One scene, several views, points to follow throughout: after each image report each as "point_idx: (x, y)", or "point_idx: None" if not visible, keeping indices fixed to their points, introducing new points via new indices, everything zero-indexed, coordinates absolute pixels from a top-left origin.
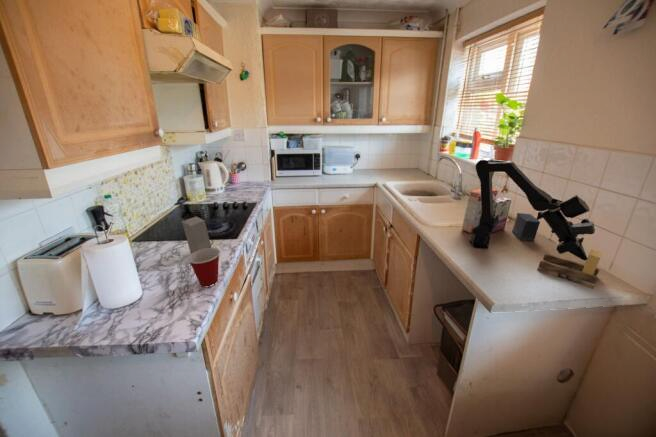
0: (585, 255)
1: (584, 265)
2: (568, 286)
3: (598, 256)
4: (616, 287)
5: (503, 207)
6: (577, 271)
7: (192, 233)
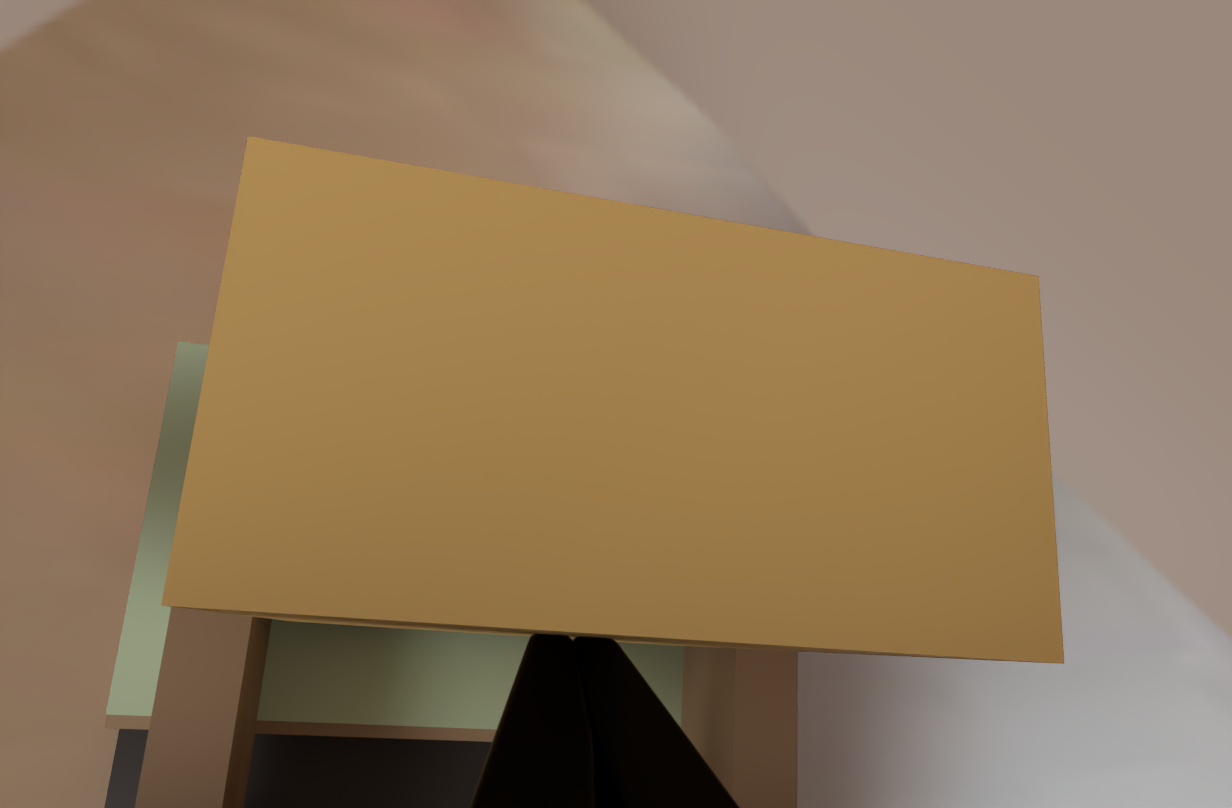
0: (640, 746)
1: (237, 617)
2: (979, 775)
3: (953, 323)
4: (456, 117)
5: None
6: (750, 741)
7: None
